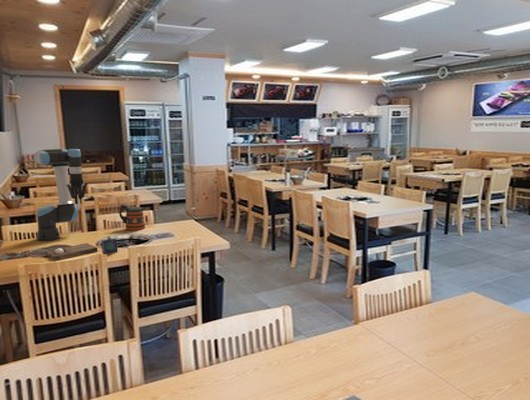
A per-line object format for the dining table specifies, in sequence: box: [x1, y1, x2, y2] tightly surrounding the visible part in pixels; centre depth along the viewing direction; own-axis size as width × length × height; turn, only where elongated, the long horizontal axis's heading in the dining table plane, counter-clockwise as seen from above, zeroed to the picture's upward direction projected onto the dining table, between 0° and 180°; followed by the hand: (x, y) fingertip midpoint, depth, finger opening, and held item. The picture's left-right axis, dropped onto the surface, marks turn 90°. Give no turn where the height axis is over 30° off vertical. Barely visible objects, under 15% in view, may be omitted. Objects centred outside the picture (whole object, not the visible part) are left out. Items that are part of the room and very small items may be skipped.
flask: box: [100, 235, 118, 254], centre depth 261 cm, size 9×3×11 cm, turn 117°
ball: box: [54, 247, 64, 253], centre depth 256 cm, size 5×5×5 cm
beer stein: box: [118, 204, 146, 231], centre depth 325 cm, size 19×15×20 cm
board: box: [45, 242, 98, 261], centre depth 261 cm, size 16×26×2 cm, turn 136°
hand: (78, 208), depth 270 cm, fingers closed
